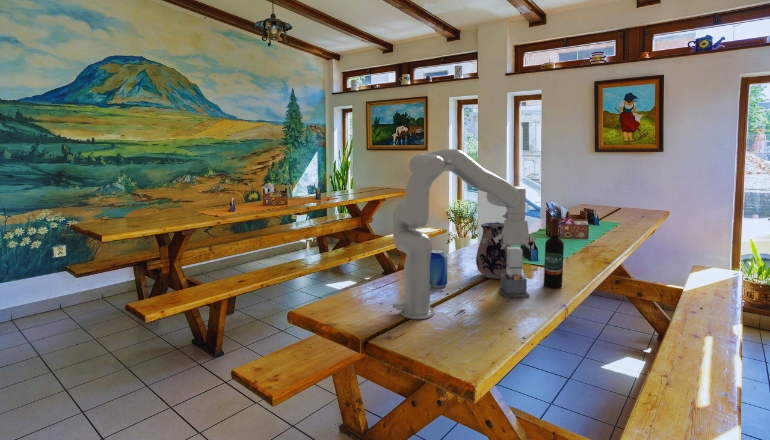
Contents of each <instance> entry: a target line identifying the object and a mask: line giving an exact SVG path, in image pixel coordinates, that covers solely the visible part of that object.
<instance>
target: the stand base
mask: <svg viewBox="0 0 770 440" xmlns="http://www.w3.org/2000/svg"><path fill="white" fill-rule="evenodd" d="M500 282H501V283H500V285H501V286H498V292H499V293H500V294H501V296H502V297H503V299H528V298H530V294H529V293H528V291H527V288H528V286H527V283H528V279H527V278H526V276H524V275H523V274H522V279H520V276H519V275H515V276H513V279H508V278H507V277H506V274H502V275H501V281H500Z"/></svg>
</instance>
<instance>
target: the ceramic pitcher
mask: <svg viewBox="0 0 770 440" xmlns="http://www.w3.org/2000/svg"><path fill="white" fill-rule="evenodd" d="M503 223H504V222H503ZM503 223H501V222H499V221H496V222H495V221H494V222H484V223H482V224H480V226H481V229H482V236H481V238H480V242H479V245H478V248H477V251H476V257H475V264H476V268H477V271H479V273H480V274H481V275H482V276H483V277H485V278H488V279H492V280H493V279H495V280H499V279H501V275H502V274H506V264H507V247H512V245H506V246H505V247H504V249H505V258H504V259H503V258H502V257H501V256H500V247H499V246H498V245H497V244H496V243H495V241H494V238H495V237H497V236H499V235H501V234H502V229H503ZM498 241H499V243H500V244H501V243H502V238H501V239H499V240H498Z"/></svg>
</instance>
